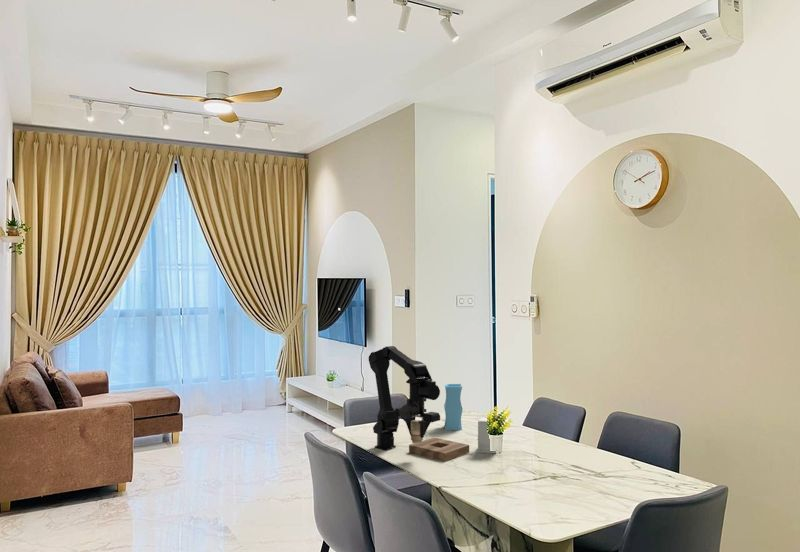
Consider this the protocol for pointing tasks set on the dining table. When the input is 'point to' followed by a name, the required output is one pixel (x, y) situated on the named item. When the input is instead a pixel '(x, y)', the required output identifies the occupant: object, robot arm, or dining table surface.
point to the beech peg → (415, 432)
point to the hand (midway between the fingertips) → (416, 436)
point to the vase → (453, 407)
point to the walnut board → (439, 449)
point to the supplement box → (483, 437)
